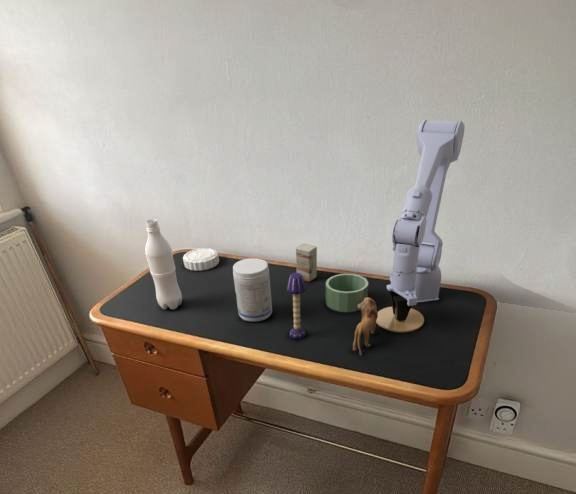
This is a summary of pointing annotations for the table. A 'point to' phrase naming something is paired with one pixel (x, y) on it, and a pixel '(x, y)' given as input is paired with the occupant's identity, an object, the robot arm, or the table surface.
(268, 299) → the supplement tub
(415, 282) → the robot arm
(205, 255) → the mooncake
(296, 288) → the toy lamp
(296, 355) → the table surface
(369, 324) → the lion figurine
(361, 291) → the canister
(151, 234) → the water bottle
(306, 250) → the beige rectangular box
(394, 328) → the lid
